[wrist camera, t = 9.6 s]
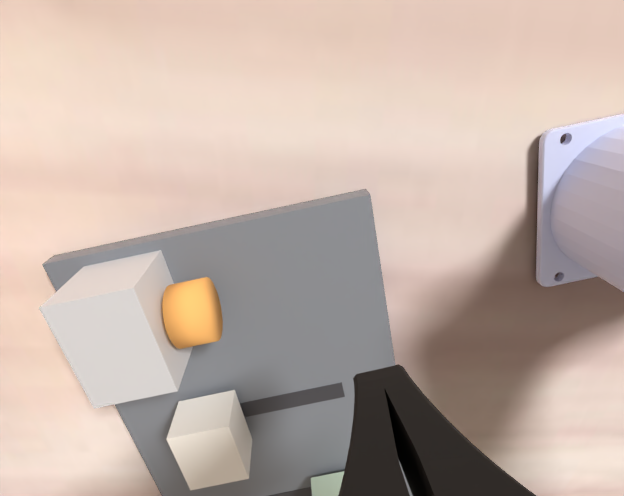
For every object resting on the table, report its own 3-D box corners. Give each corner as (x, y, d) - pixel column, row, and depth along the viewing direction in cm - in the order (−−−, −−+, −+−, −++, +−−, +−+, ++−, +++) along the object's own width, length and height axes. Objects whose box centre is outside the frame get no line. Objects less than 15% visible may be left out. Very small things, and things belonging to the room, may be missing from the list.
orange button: (208, 266, 18) (196, 297, 16) (225, 318, 19) (216, 354, 17) (174, 273, 18) (155, 305, 16) (193, 324, 19) (179, 362, 17)
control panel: (365, 188, 19) (390, 220, 14) (411, 489, 27) (435, 566, 23) (54, 255, 19) (-13, 305, 15) (193, 533, 27) (176, 617, 23)
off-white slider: (234, 389, 21) (228, 426, 19) (252, 439, 22) (248, 478, 20) (178, 401, 21) (166, 439, 19) (199, 449, 22) (190, 490, 20)
